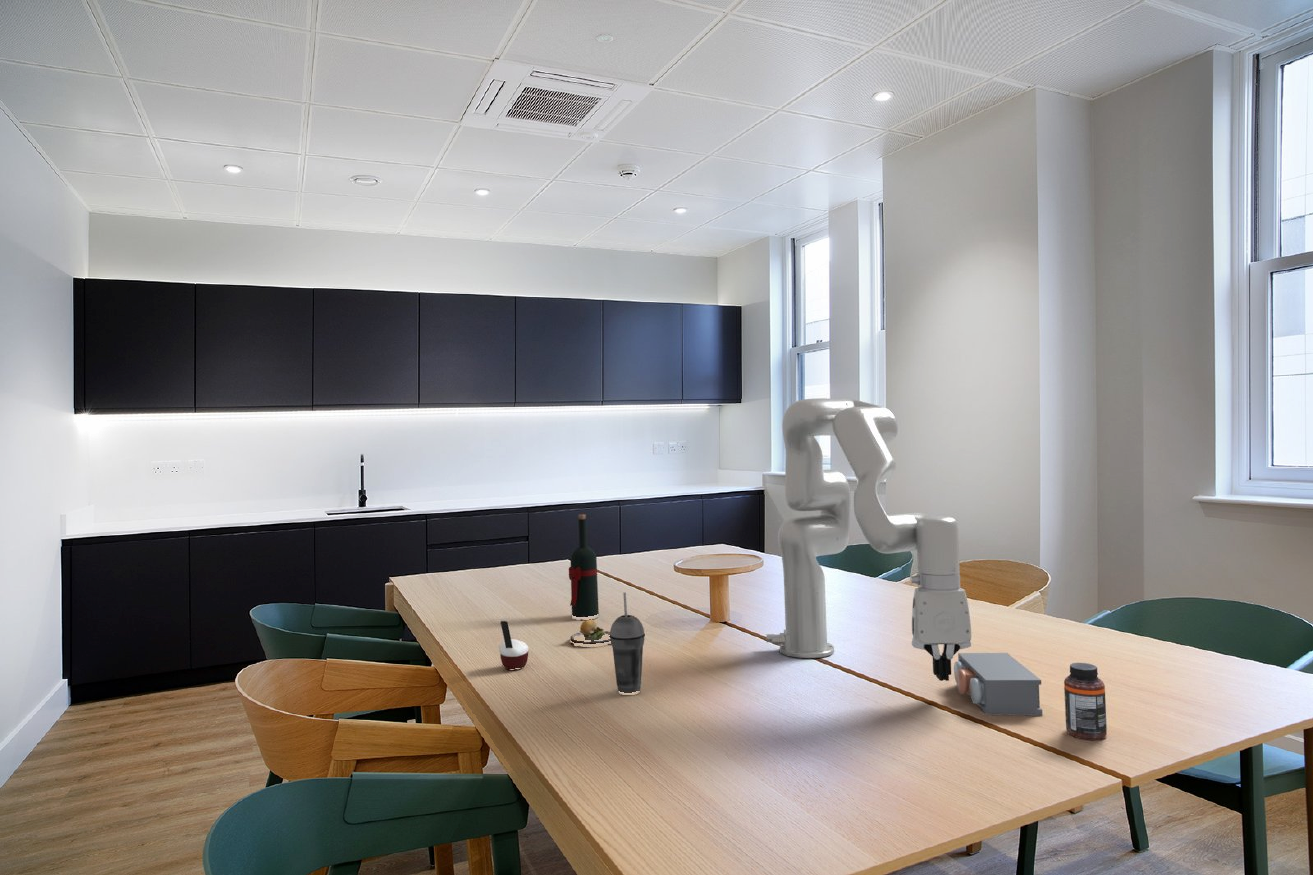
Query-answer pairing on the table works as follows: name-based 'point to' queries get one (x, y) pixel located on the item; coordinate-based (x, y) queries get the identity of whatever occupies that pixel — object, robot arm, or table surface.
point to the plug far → (959, 667)
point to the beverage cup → (627, 651)
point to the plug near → (977, 691)
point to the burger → (590, 633)
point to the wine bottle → (583, 576)
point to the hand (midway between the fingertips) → (942, 678)
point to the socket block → (1004, 684)
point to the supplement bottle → (1085, 702)
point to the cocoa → (512, 650)
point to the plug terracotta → (964, 680)
